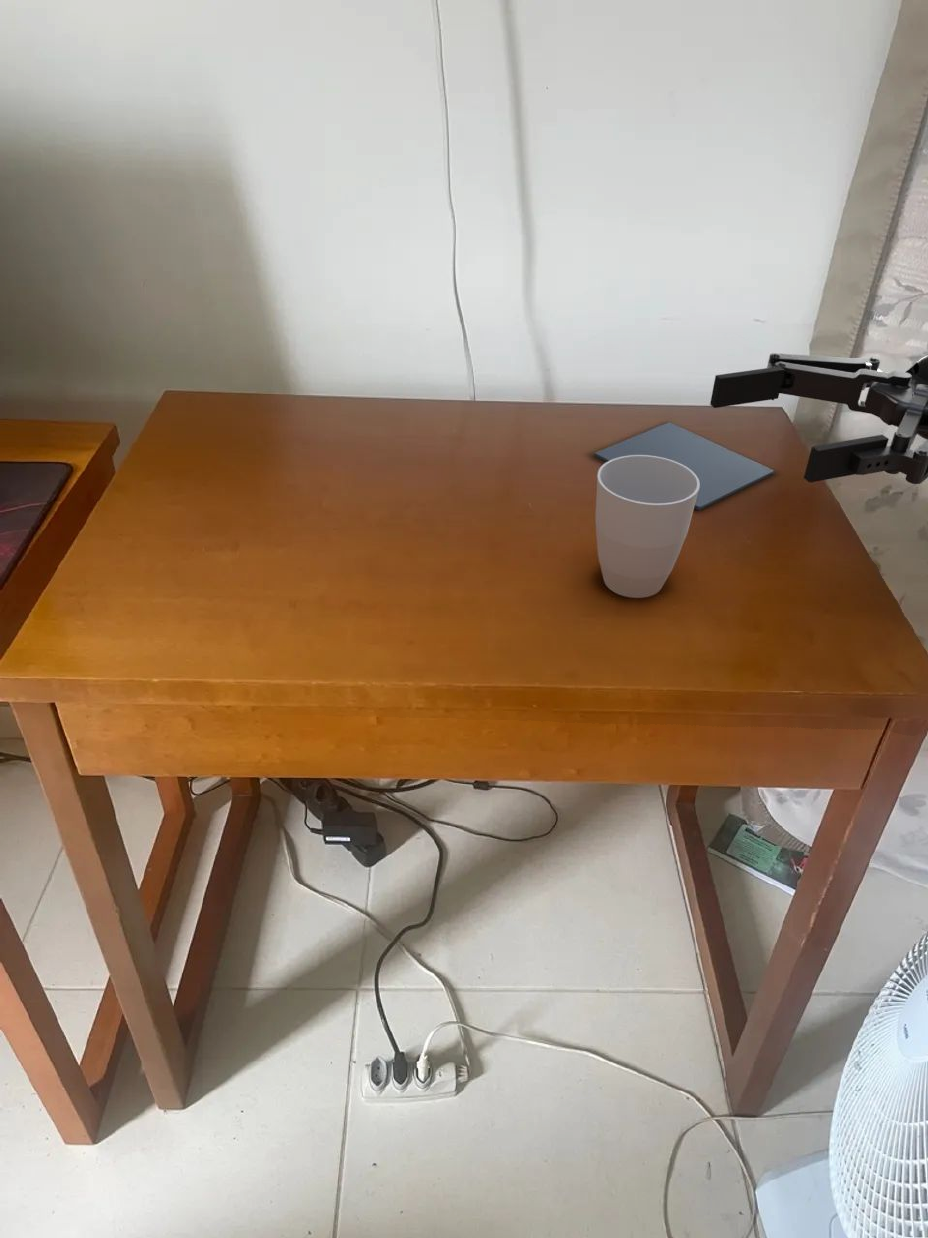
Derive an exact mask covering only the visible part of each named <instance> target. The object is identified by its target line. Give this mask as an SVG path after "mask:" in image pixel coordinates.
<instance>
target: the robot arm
mask: <svg viewBox="0 0 928 1238" xmlns="http://www.w3.org/2000/svg"><path fill="white" fill-rule="evenodd" d="M768 357H769V358H768V362H767V365H766V367H765V368H759V369H750V370H743V371H736V372H728V373H722V374H716V375H715V377H714V382H713V388H712V392H711V396H710V397H711V398H710V403H709V405H710V406H711V407H712V408H714V409H718V408H726V407H731V406H738V405H744V404H752V403H756V402H757V403H759V402H764V401H770V400H771V401H775V400H777V399H778V400H779V396H780V394H782V395H787V396H795V397H800V398H805V399H806V398H807V399H813V400H819V401H825V402H830V403H837V404H843V405H847V408H848V409H849V410H850V411H852V412H857V413H863V414H870V415H873V416H875V417H878V419H880V421H882V422H883V423H884V424H886V425H887V426H894V427H897V430H896V431H895V432H894V434H893V437H892V440H891V443H890V445H888V444H889V440H890V439H889V438H888V437H887V436H885V435H884V434H878V435H871V436H866V437H860V438H855V439H854V438H853V439H848V440H843V441H842V440H841V441H837V442H831V443H825V444H819V445H818V444H817V445H812V446H811V449H810V453H809V457H808V461H807V464H806V467H805V471H804V475H803V479H804V480H805V481H807V482H808V483H815V482H816V483H817V482H821V481H826V480H832V479H837V478H838V479H839V478H842V477H848V476H854V475H856V476H864V475H871V474H875V473H876V474H877V473H882V472H885V473H886V474H889V475H898V474H899V473H902V474H903V475H906V476H905V478H904V479H905V481H906V482H908V483H910V484H912V485H920V484H922V483H923V482H925V481H926V479H928V354H927V355H925V356H923V357H922V358H920V359H919V360H917V361H916V362H915V363H914V364H912V366H911V367H910V368H908V369H907V370H905V371H900V370H899V371H898V370H892V371H882V370H881V369H879V368H880V364H881V359H880V358H878V357H876V356H864V357H839V356H838V357H837V356H825V355H824V356H823V355H811V354H810V355H809V354H808V355H807V354H793V353H779V352H773V353H770V354H769V356H768ZM867 388H868V390H867V393H866V397H865V401H863V400H860V399H861V396H862V392H863V391H865V390H866V389H867ZM917 435H918V436H919V437H921V438H922V439H924V440H926V441H924V442H923V443H922V444H921V445H919V446H918V447H916V448H915V449H914V450H912V449H911V447H912V445H913V443H914V442H915V440H916V437H917Z"/></svg>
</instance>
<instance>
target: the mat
mask: <svg viewBox="0 0 928 1238" xmlns="http://www.w3.org/2000/svg"><path fill="white" fill-rule="evenodd" d="M630 455H649V456H657V457H662V458H666V459H670V460H673V461H675V462H678V463H680V464H682V465H684V466H686V467H687V468H689V469H690V470H692V471H693V472H694V473H695V474H696V476H697V477H698V479H699V482H700V487H699V491H698V495H697V499H696V502H695V506H694V509H695V510H697V511H702V510H703V509H706V508H707V507H709V506H712V505H714V504H715V503H718V502H720V501H722V500H724V499H726V498H728V497H730V496H732V495H734V494H735V493H738V492H739V491H742V490H744V489H746V488H748V487H750V486H752V485H754V484H757V483H758V482H760V481H763V480H765V479H766V478H769V477H770V476H772V475H775V470H774V469H772V468H769V467H767V466H765V465H763V464H761V463H758V462H756V461H754V460H752V459H750V458H748V457H746V456H745V455H741V454H739V453H737V452H735V451H733V450H731V449H728V448H726V447H724V446H722V445H720V444H719V443H716V442H713V441H712V440H709V439H707V438H705V437H702V436H701V435H698V434H696V433H694V432H691V431H690V430H688V429H685V428H683V427H681V426H679V425H676V424H674V423H672V422H667V423H666V422H665V423H664V424H661V425H659V426H656V427H654V428H651V429H650V430H647V431H645V432H642V433H639V434H636V435H634V436H633V437H630V438H627V439H625V440H623V441H620V442H618V443H615V444H613V445H610V446H608V447H606V448H604V449H601V450H597V451H596V452H594V454H593V457H595V458H597V459H599V460H601V461H602V462H604V463H606V462H608V461H610V460H612V459H615V458H618V457H623V456H630Z"/></svg>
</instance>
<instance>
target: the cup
mask: <svg viewBox="0 0 928 1238" xmlns="http://www.w3.org/2000/svg"><path fill="white" fill-rule="evenodd" d="M596 479H597V480H596V481H597V482H596V499H595V500H596V501H595V518H594V519H595V533H596V549H597V558H598V562H599V566H600V571H601V575H602V578H603V582H604V585H605V586H606V587H607V588H608V589H609V590H610V591H612V592H614V593H615V594H617V595H620V596H622V597H627V598H633V599H643V598H650V597H652V596H655V595H656V594H658V593H659V592H660V591H661V589H662V588H663V586H664V584H665V583H666V581H667V580H668V578H669V576H670V574H671V572H672V571H673V569H674V567H675V565H676V563H677V561H678V558H679V556H680V553H681V551H682V548H683V545H684V542H685V540H686V538H687V535H688V533H689V529H690V525H691V522H692V517H693V513H694V509H695V508H694V506H695V502H696V499H697V495H698V491H699V487H700V482H699V479H698V477H697V476H696V474H695V473H694V472H693V471H692V470H690V469H689V468H687V467H686V466H684V465H682V464H680V463H678V462H675V461H673V460H670V459H666V458H662V457H657V456H649V455H630V456H623V457H618V458H615V459H612V460H610V461H608V462H604V463H603V464H602V465H601V466H600V468H599V469H598V471H597V478H596Z"/></svg>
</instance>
